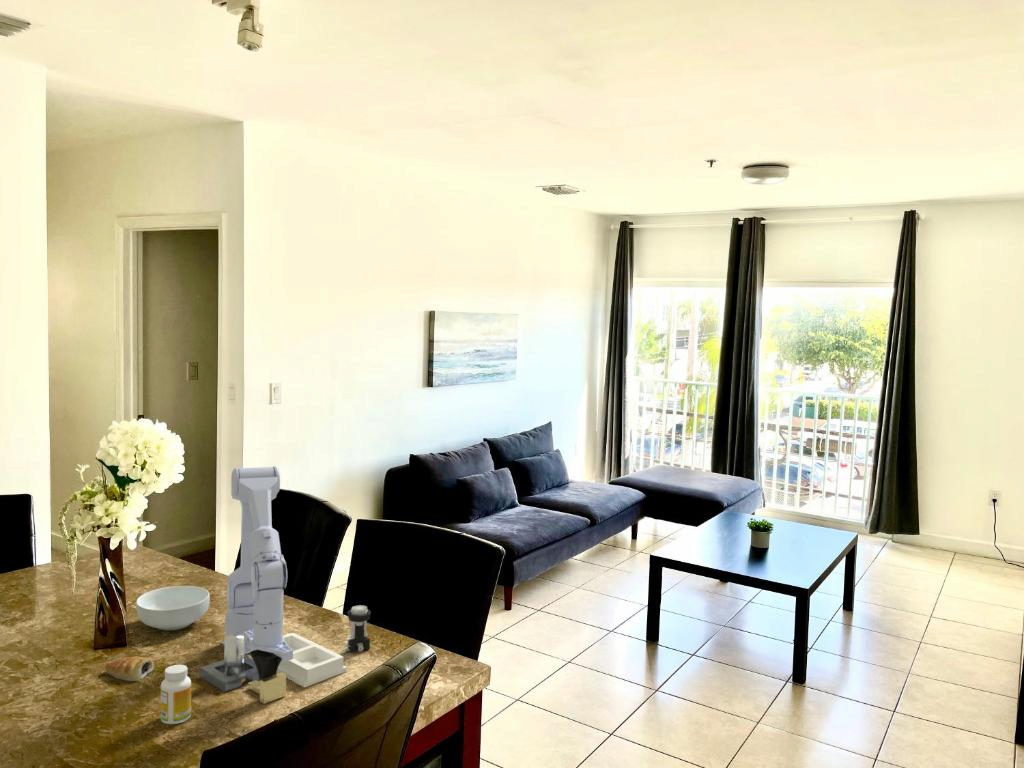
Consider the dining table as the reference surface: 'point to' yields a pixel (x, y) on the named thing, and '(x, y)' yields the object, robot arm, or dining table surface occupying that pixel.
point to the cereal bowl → (172, 606)
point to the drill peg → (234, 653)
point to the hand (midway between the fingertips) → (267, 684)
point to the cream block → (270, 687)
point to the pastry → (130, 668)
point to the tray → (310, 662)
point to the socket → (224, 682)
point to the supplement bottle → (175, 695)
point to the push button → (358, 629)
